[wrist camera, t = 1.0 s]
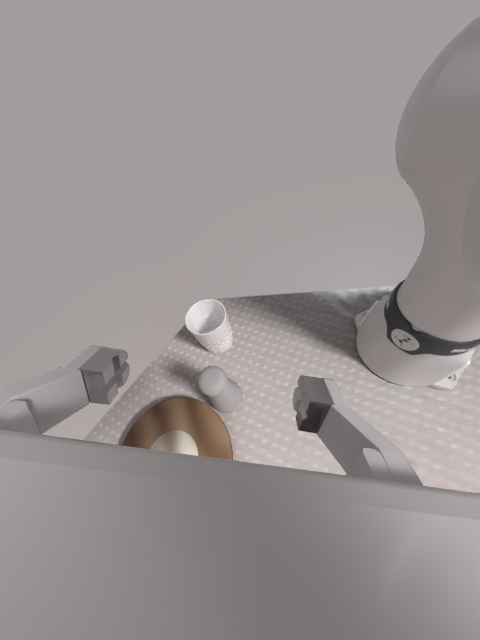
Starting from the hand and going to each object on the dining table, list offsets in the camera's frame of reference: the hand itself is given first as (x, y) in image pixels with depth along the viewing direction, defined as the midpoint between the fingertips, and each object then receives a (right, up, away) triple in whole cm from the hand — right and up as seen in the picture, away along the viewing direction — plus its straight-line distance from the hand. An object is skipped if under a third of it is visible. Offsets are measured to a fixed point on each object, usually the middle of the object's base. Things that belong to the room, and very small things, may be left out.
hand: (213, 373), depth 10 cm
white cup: (-3, -2, +39) cm, 39 cm away
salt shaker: (-1, -13, +32) cm, 34 cm away
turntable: (-10, -21, +27) cm, 35 cm away
